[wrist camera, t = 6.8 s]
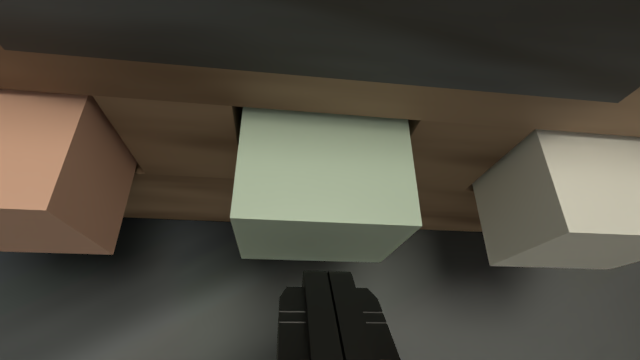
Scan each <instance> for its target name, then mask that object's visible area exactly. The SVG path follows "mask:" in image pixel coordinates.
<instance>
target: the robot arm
mask: <svg viewBox="0 0 640 360" xmlns="http://www.w3.org/2000/svg"><path fill="white" fill-rule="evenodd" d="M277 360H400V357H399V354H398V352H397V349H396V347H395V344H394V341H393V339H392V336H391V333H390V331H389V328H388V325H387V324H386V320H385V317H384V315H383V314H382V309H381V307H380V304H379V301H378V299H377V298H376V297H375V296H374V295H373V294H372V293H371V292H370V291H369V290H368V289H367V288H356V287H355V284H354V280H353V277H352V274H351V272H332V271H328V272H326V271H304V272H303V281H302V287H287V288H286V289H285V290H284V292H283V293H282V295H281V296H280V301H279V319H278V337H277Z"/></svg>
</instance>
